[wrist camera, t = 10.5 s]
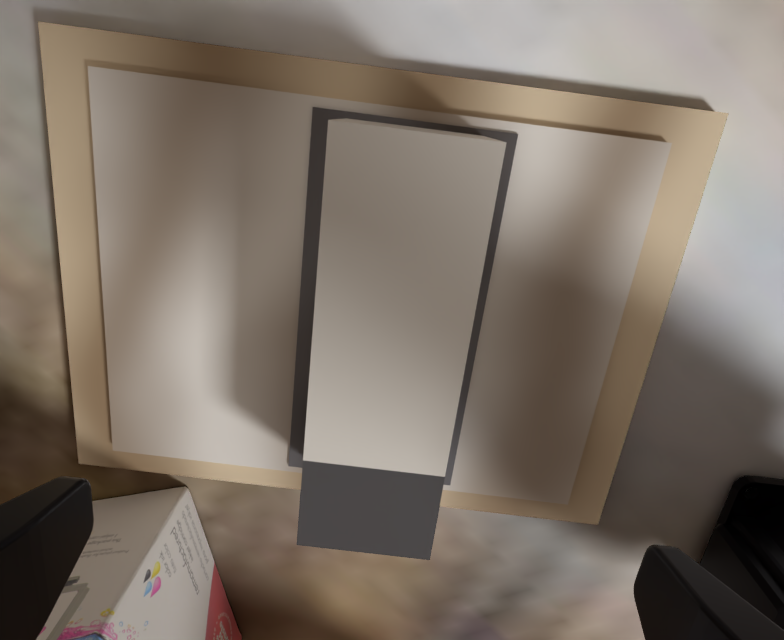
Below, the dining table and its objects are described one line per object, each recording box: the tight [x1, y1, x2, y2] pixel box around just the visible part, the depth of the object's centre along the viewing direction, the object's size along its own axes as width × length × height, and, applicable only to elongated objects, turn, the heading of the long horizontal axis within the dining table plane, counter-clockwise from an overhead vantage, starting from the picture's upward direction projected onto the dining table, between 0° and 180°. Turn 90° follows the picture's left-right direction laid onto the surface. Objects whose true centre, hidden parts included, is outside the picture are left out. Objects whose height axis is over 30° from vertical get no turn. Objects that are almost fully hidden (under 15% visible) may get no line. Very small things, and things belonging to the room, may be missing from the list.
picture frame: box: [38, 21, 729, 525], centre depth 19 cm, size 20×15×1 cm
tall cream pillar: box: [297, 118, 507, 560], centre depth 16 cm, size 4×12×4 cm, turn 173°
